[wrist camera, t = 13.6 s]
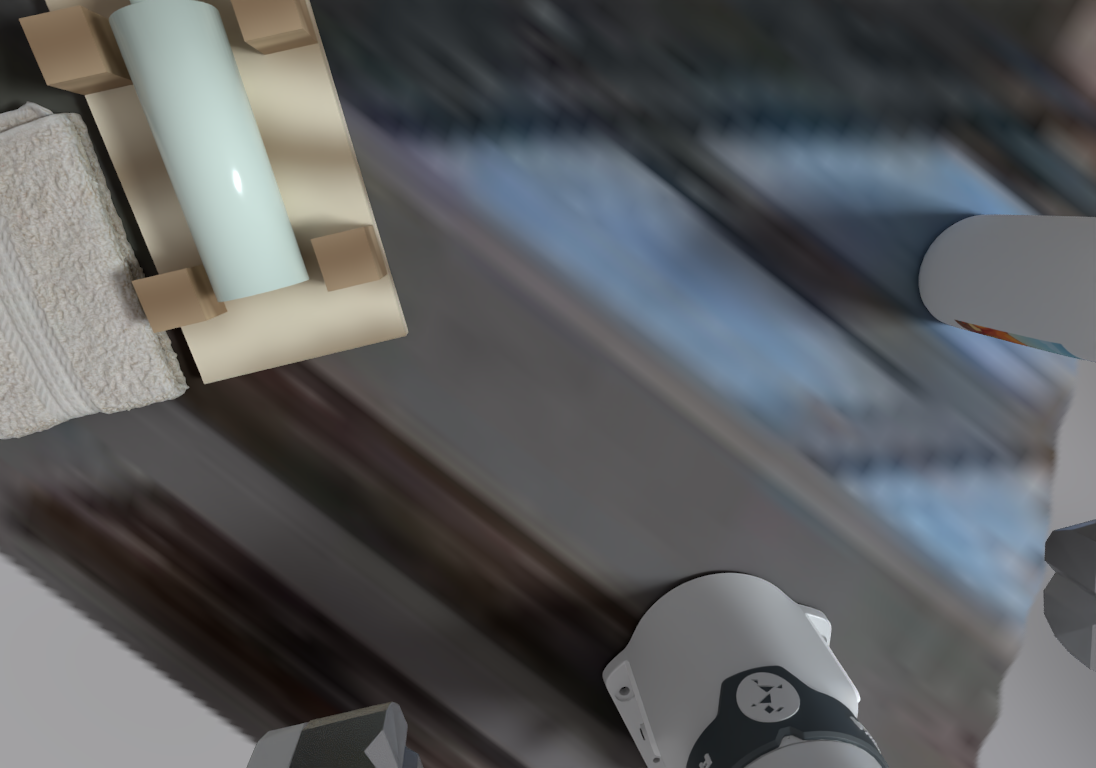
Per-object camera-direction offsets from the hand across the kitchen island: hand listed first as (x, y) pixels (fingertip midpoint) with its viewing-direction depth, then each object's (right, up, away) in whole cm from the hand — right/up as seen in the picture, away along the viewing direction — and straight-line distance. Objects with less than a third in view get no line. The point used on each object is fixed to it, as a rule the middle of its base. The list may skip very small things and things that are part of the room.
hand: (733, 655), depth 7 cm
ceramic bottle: (-21, +18, +27) cm, 38 cm away
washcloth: (-33, +10, +30) cm, 46 cm away
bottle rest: (-20, +16, +29) cm, 39 cm away
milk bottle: (+27, +11, +36) cm, 46 cm away
